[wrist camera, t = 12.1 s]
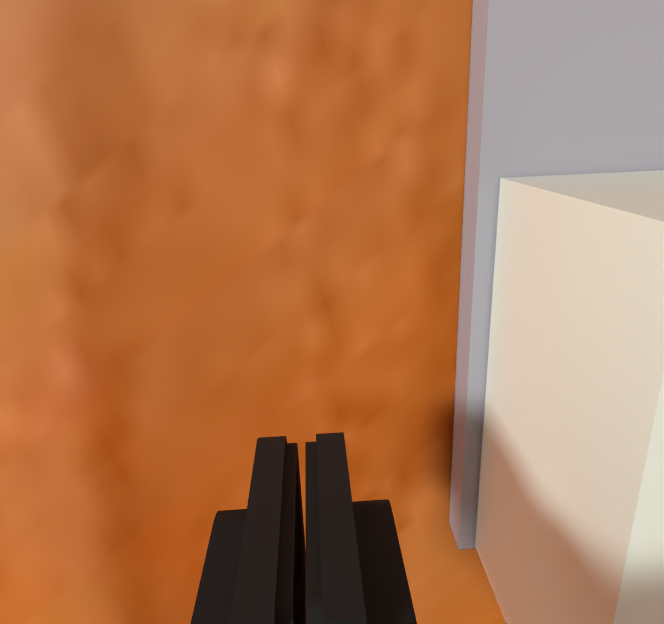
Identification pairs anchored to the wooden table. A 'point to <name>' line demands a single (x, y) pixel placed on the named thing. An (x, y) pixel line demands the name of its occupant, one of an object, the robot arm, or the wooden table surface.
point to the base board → (542, 154)
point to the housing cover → (576, 402)
